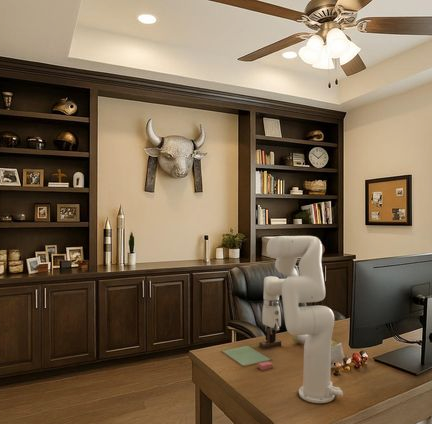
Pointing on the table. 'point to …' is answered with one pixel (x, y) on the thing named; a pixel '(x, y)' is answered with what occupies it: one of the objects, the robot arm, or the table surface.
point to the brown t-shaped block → (269, 344)
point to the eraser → (265, 365)
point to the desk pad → (246, 355)
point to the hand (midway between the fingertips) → (270, 340)
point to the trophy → (303, 337)
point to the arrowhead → (337, 355)
